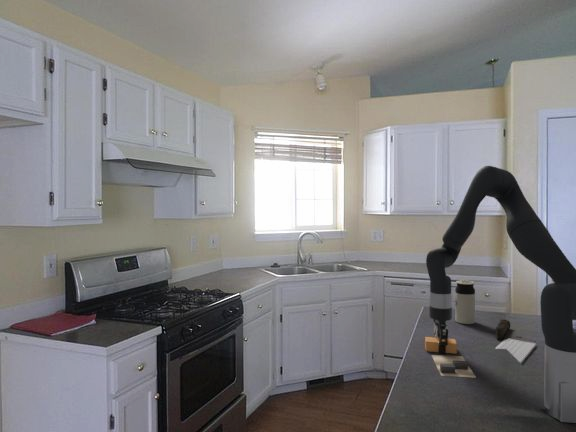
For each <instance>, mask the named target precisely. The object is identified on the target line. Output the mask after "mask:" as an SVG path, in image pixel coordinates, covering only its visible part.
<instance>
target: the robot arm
mask: <svg viewBox="0 0 576 432" xmlns="http://www.w3.org/2000/svg"><path fill="white" fill-rule="evenodd" d="M486 197H488V198H489V197H490V198H494V199H495V200H496V201H497V202H498V203H499V205H500V206H501V208H502V210H503V211H504V212H505V215H506V220H505V221H506V223H505V224H506V228H505V229H506V233H507V234H508V237H509V239H510V240H511V243H512V244H513V245H514V248H516V250H517V252H518V253H519V254H520V255H522V256H523V257H524V258H525V259H527V260H528V261H529V262H530V263H532V264H533V265H535V266H536V267H538V268H539V269H541V270H542V271H543V272H544V273H545V274H547V275H548V277H550V279H551V280H552V281H553V282H552V283H548V284H546V285H545V286H544V287H543V289H542V291H541V293H540V294H541V295H540V319H541V320H540V321H541V330H542V334H543V337H544V363H543V364H544V372H543V373H544V379H543V383H544V385H543V389H544V390H543V405H544V407H545V408H543V411H544V412H545V413H546V414H547V415H548V416H551V417H552V418H554V419H556V420H559V422H560V423H572V424H576V331H575V330H574V322H573V321H576V268H575V266H574V265H573V264H572V262H570V260H569V259H568V257H566V255H565V253H564V252H563V251H562V250H561V248H560V247H559V246H558V244H557V242H556V241H555V240H554V238H553V236H552V235H551V233H550V232H549V230H548V228H547V227H546V226H545V223H544V222H543V221H542V220H541V219H540V217H539V216H538V215H537V213H536V212H535V211H534V208H533V207H532V206H531V204H530V203H529V201H528V200H527V199H526V197H525V195H524V193H523V191H522V189H521V187H520V185H519V182H518V181H517V179H516V177H515V176H514V175H513V173H512V172H510V171H508V170H506V169H503V168H499V167H496V166H493V165H484V166H483V167H481V168H479V169H478V170H477V171H476V173H475V175H474V176H473V178H472V180H471V182H470V185H469V187H468V189H467V191H466V193H465V195H464V198H463V200H462V202H461V204H460V206H459V207H460V208H459V210H458V211H457V213H456V215H455V217H454V218H453V220H452V222H451V223H450V225H449V226H448V228H447V229H446V231H445V232H444V234H443V236H442V242H443V243H442V246H441V247H440V248H434V249H431V250H430V251H428V253H427V254H426V258H425V262H426V263H425V264H426V268H427V269H426V270H427V274H428V277H429V280H430V281H429V283H430V284H429V300H428V301H429V302H428V305H429V308H428V309H429V311H428V312H429V314H428V315H429V318H430V319H432V321H433V335H434V338H438V344H439V352H438V354H439V355H445V354H447V353H446V345H448V339H449V329H448V328H449V326H448V325H447V323H446V322H447V321H451V320H452V319H453V296H452V279H451V277H450V276H449V275H447V273H446V268H449V267H451V266H453V265H454V264H455V262H456V261H457V259H458V258H459V255H460V252H461V251H462V247H463V246H464V245H465V244H466V242H467V241H468V239H469V238H470V236H471V235H472V233H473V231H474V228H475V224H476V218H477V217H476V215H477V212H478V208H479V206H480V204H481V202H482V201H483V200H484V199H485V198H486ZM442 339H444V342H442Z"/></svg>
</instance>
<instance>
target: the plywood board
mask: <svg viewBox="0 0 576 432" xmlns="http://www.w3.org/2000/svg"><path fill="white" fill-rule="evenodd" d="M431 358H432V359H433V362H434V363H435V366H436V368H437V370H438V372H439V375H440V376H441V377H442V376H443V377H456V378H457V377H460V378H473V379H474V378H477V376H476V375H475V373H474V372H473V370H472V369H471V367H470V366H469V365H468V370H461V369H455V374H453V373H441V371H440V364H453V360H456V361H466V360H465V358H464V357H463V356H461V355H445V354H439V355H438V354H431Z"/></svg>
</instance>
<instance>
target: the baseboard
mask: <svg viewBox="0 0 576 432" xmlns="http://www.w3.org/2000/svg"><path fill="white" fill-rule="evenodd" d="M504 336H505V337H507V335H506V334H504ZM509 336H510V335H509ZM515 336H516V335H515ZM505 337H503V338H502V339H503V340H502V341H501V342H500V343H499V344H498V345H497V346H496V347H495V349H496V350H497V349H498V350H499V349H500V350H507V351H508V352H509V354H511V355H512V356H513V357H514V358H515V360H517V362H519V363H520V364H523V362H525V360H526V359H525V358H527V357H528V356H529V355H530V354H531V353H532V351H533V350H534V349H535V348H536V346H537V343H536V342H537V341H536V340H534V342H532V340H530V339H529V341H526V340H527V339H524V340H525V341H524V340H522V339H523V337H522V336H516V337H514V338H517V339H514V338H511V337H512V336H510V337H508V338H505ZM519 339H521V340H519ZM530 341H531V342H530Z"/></svg>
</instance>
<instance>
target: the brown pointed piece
mask: <svg viewBox="0 0 576 432" xmlns="http://www.w3.org/2000/svg"><path fill="white" fill-rule="evenodd" d="M510 328H511V322H510V320H507V319H500V320H499V323H498V324H497V325H496V327H495V339H496V341H500V340H502V339H503V338H504V336H505V334H506V332H507V330H509V329H510Z"/></svg>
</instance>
